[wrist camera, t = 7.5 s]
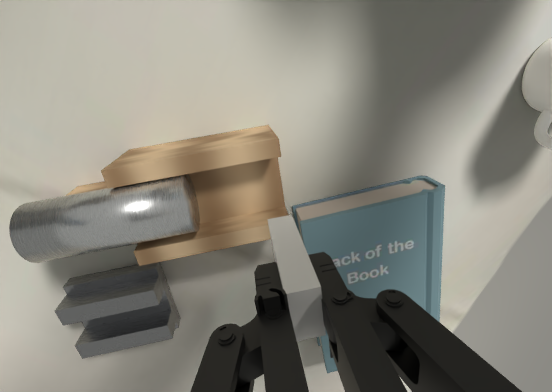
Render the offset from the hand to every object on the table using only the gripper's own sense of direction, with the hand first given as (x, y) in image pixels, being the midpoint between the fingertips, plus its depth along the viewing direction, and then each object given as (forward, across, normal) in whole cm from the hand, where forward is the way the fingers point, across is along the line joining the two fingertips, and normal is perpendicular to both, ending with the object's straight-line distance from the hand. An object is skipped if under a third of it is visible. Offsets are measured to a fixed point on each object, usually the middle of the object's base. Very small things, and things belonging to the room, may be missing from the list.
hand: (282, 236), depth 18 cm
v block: (+15, -18, -14) cm, 27 cm away
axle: (+8, -13, 0) cm, 15 cm away
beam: (+15, -9, 0) cm, 17 cm away
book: (+16, +11, -16) cm, 25 cm away
